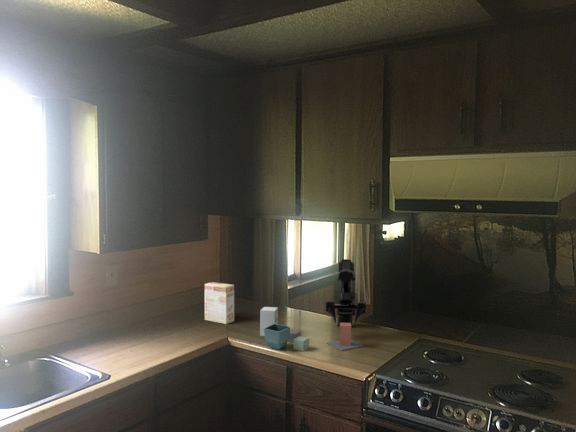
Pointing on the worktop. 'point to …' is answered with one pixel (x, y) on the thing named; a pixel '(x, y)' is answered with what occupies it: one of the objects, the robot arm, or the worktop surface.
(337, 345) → the slate mat
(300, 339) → the sage block
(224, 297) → the coffeecake box
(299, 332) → the light gray block
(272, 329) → the flower pot
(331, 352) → the worktop surface
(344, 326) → the brick-red block
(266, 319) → the supplement box
